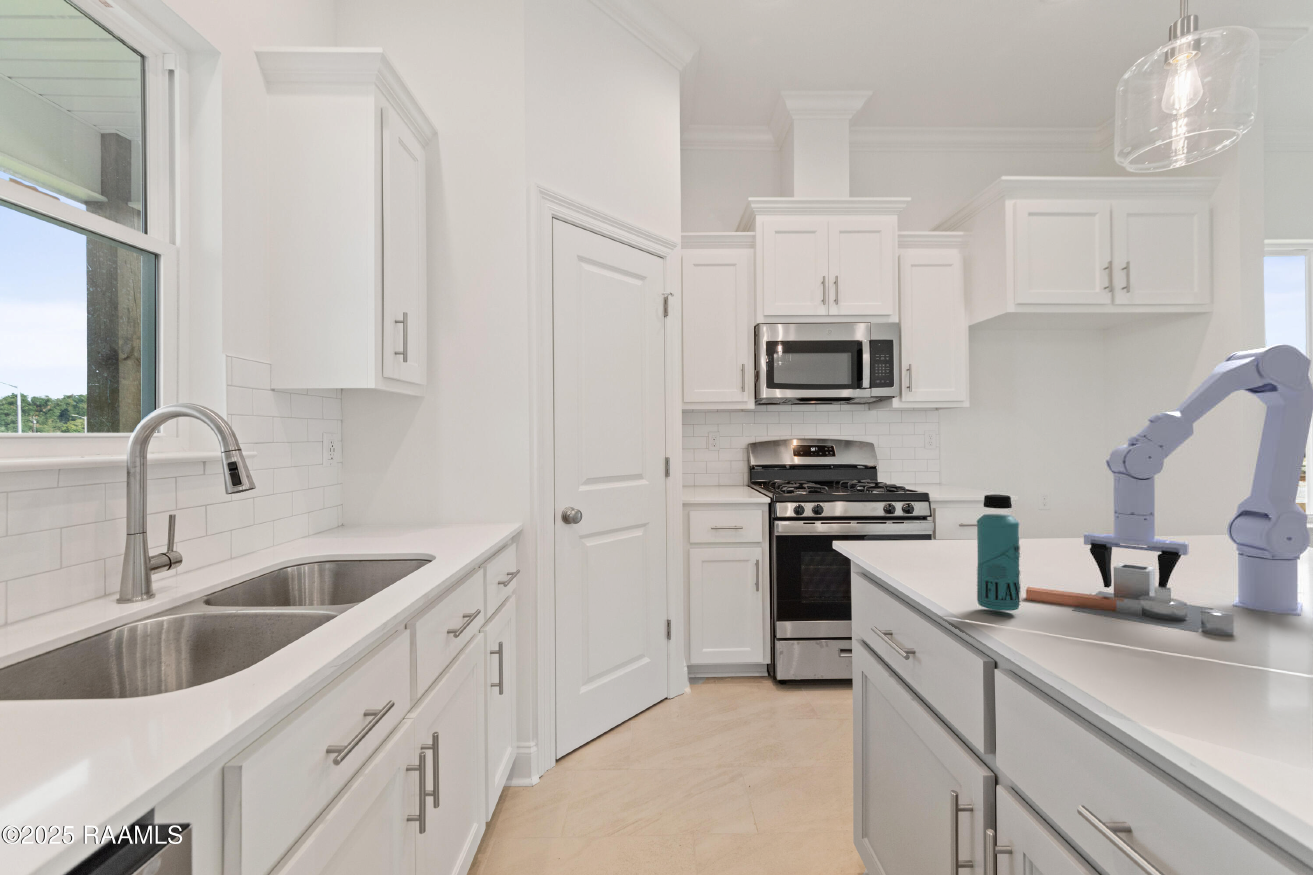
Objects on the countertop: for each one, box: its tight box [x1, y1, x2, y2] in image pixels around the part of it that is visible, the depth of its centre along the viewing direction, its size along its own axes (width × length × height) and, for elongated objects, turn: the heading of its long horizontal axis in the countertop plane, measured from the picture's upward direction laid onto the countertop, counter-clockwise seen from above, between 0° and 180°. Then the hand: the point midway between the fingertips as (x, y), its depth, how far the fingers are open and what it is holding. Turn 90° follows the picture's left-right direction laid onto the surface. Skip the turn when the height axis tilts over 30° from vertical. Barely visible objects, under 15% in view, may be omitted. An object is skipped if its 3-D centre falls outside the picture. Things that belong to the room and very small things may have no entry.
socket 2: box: [1200, 609, 1235, 638], centre depth 92 cm, size 4×4×3 cm
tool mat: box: [1071, 590, 1214, 633], centre depth 104 cm, size 18×16×1 cm
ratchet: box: [1025, 585, 1188, 622], centre depth 105 cm, size 22×6×4 cm, turn 52°
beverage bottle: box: [975, 493, 1022, 612], centre depth 103 cm, size 6×7×20 cm
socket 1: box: [1113, 562, 1156, 600], centre depth 109 cm, size 5×5×6 cm
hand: (1134, 590), depth 109 cm, fingers open, 7 cm apart
